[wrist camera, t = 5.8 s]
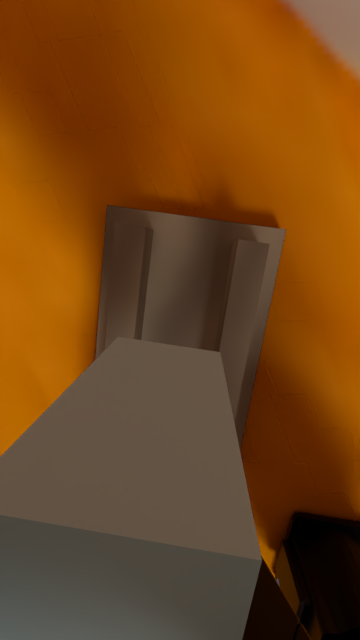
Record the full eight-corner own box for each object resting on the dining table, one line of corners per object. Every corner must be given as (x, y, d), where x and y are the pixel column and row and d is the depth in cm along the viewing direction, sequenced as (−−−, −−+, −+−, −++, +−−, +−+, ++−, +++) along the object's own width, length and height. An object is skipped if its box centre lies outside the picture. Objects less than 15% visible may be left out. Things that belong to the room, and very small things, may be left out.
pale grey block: (220, 352, 9) (261, 560, 3) (186, 545, 10) (167, 937, 4) (118, 336, 9) (-50, 506, 3) (100, 530, 10) (-31, 893, 4)
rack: (281, 230, 17) (300, 225, 14) (232, 465, 21) (239, 506, 18) (111, 207, 18) (91, 197, 14) (93, 443, 21) (73, 479, 18)
